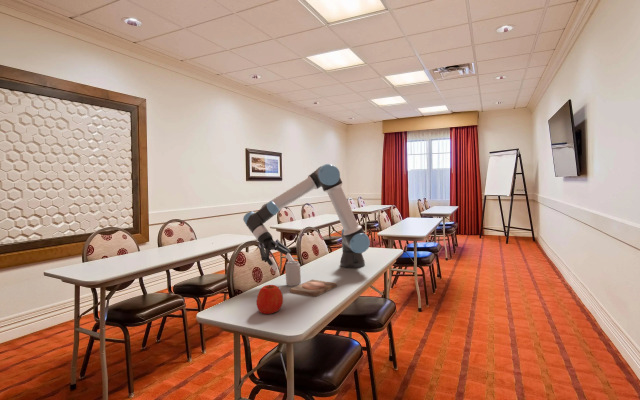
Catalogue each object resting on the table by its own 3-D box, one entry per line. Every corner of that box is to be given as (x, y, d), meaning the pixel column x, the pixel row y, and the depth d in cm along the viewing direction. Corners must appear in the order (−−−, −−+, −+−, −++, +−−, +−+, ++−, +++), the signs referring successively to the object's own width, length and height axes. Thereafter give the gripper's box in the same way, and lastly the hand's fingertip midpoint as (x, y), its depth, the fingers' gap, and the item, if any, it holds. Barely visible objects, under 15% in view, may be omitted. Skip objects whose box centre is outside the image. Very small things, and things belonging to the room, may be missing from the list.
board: (312, 282, 177) (312, 278, 177) (336, 286, 169) (336, 282, 169) (290, 291, 162) (289, 288, 162) (315, 296, 154) (315, 292, 154)
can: (283, 285, 174) (282, 262, 173) (294, 282, 179) (292, 259, 179) (293, 288, 169) (292, 263, 168) (304, 284, 174) (302, 261, 174)
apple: (286, 313, 135) (285, 286, 135) (259, 317, 132) (258, 290, 131) (280, 304, 145) (279, 280, 145) (254, 308, 142) (253, 283, 141)
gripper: (275, 237, 195) (296, 265, 187) (242, 244, 175) (264, 276, 167) (282, 228, 192) (304, 257, 184) (248, 234, 172) (272, 267, 164)
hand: (285, 266), depth 176 cm, fingers open, 13 cm apart
